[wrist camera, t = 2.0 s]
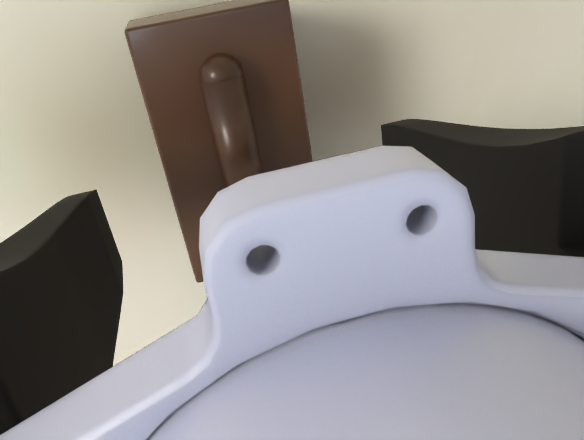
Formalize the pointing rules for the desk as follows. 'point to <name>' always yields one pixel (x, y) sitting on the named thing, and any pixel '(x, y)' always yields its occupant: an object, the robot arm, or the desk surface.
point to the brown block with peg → (220, 99)
